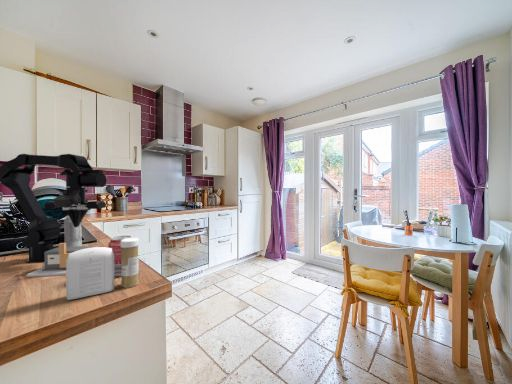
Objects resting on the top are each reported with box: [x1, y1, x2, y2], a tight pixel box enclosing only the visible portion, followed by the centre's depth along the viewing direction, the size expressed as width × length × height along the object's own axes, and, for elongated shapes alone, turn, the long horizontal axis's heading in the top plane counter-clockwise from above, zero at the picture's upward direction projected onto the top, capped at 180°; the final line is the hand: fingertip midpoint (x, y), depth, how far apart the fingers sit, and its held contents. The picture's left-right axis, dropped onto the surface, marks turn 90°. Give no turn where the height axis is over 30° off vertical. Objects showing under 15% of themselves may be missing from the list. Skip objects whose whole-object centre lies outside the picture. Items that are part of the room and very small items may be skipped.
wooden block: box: [58, 242, 70, 268], centre depth 72 cm, size 5×1×8 cm, turn 98°
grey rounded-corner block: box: [65, 246, 115, 301], centre depth 57 cm, size 10×4×12 cm, turn 123°
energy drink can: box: [63, 216, 83, 247], centre depth 98 cm, size 6×6×15 cm
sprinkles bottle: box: [120, 237, 140, 289], centre depth 62 cm, size 5×5×14 cm
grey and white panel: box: [26, 245, 92, 278], centre depth 76 cm, size 18×13×7 cm
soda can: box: [107, 235, 132, 278], centre depth 71 cm, size 7×7×12 cm
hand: (76, 227), depth 83 cm, fingers closed
